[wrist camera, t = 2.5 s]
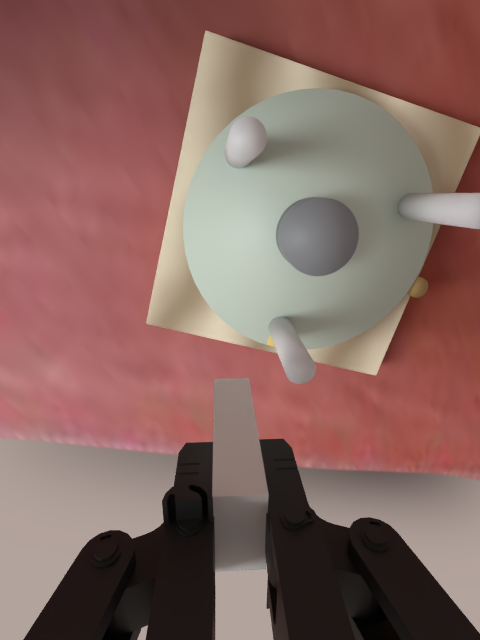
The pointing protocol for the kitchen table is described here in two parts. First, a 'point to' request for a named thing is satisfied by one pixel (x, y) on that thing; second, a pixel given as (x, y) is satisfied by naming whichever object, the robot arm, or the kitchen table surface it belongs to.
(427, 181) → the green peg holder
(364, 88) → the stand base
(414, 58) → the kitchen table surface
